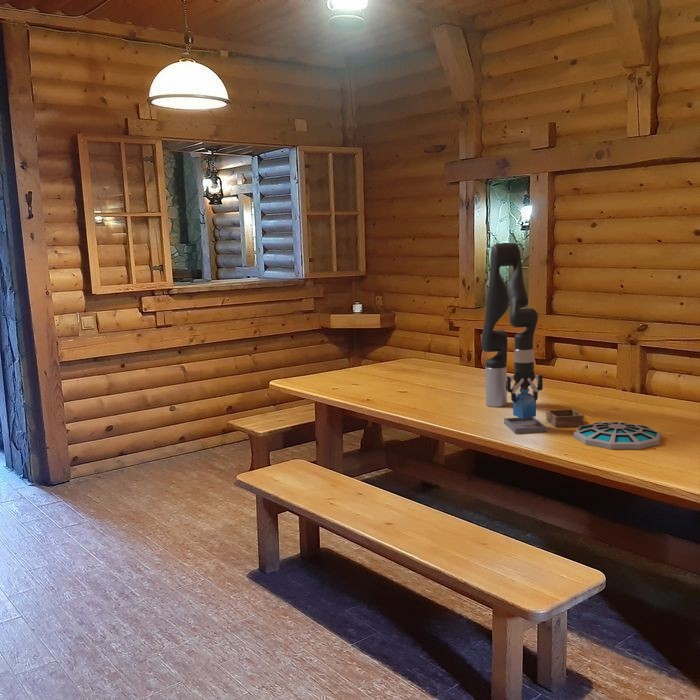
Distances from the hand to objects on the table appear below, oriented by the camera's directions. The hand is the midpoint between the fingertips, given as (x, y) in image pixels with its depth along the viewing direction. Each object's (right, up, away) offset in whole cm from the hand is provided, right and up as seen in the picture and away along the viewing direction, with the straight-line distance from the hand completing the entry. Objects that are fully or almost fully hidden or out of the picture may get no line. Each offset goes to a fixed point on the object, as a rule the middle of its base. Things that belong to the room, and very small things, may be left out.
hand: (524, 401), depth 283 cm
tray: (+1, -10, +2) cm, 10 cm away
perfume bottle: (0, -6, +1) cm, 6 cm away
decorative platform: (+30, -13, -18) cm, 37 cm away
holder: (+17, -9, +5) cm, 20 cm away
